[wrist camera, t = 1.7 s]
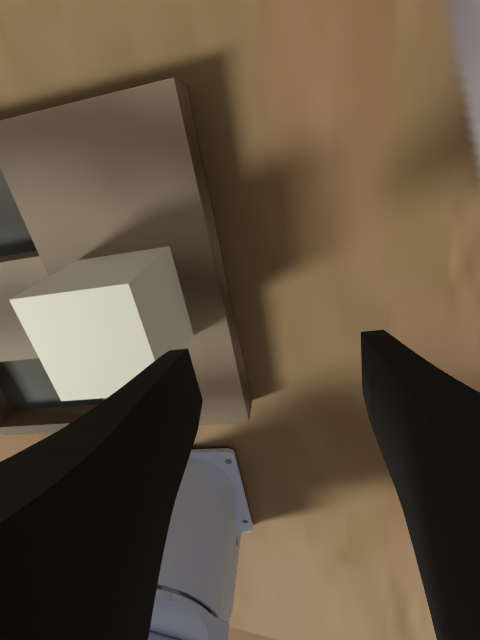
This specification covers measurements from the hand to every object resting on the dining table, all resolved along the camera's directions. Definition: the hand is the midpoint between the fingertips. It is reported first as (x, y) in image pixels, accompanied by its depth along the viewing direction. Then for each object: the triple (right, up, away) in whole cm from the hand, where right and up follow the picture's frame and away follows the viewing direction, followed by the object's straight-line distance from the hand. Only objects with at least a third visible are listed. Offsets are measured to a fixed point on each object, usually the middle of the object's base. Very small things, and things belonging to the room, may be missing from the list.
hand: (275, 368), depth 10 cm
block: (-6, +3, +8) cm, 11 cm away
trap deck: (-14, +3, +11) cm, 18 cm away
